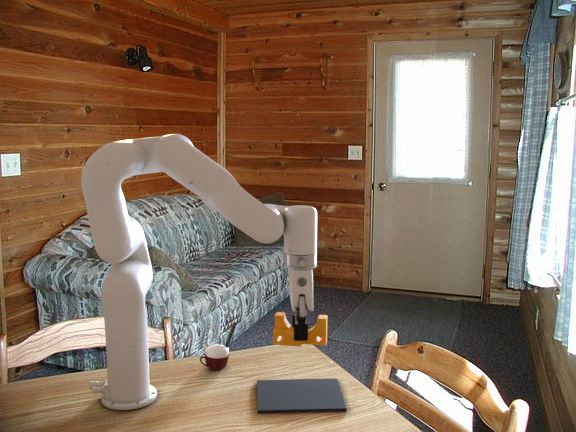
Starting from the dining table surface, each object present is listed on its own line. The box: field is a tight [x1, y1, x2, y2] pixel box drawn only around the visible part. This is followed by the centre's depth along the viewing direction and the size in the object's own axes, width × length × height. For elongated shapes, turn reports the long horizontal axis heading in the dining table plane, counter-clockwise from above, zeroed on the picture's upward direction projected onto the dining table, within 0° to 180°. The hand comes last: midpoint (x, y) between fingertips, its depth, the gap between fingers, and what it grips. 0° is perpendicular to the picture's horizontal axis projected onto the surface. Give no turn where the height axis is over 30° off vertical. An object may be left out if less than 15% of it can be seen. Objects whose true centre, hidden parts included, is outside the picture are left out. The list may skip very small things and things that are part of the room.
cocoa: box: [199, 320, 238, 371], centre depth 163 cm, size 10×6×12 cm, turn 89°
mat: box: [256, 377, 348, 415], centre depth 147 cm, size 20×16×1 cm
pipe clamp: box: [272, 311, 329, 348], centre depth 144 cm, size 12×4×6 cm, turn 79°
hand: (299, 335), depth 144 cm, fingers closed on pipe clamp, 4 cm apart
